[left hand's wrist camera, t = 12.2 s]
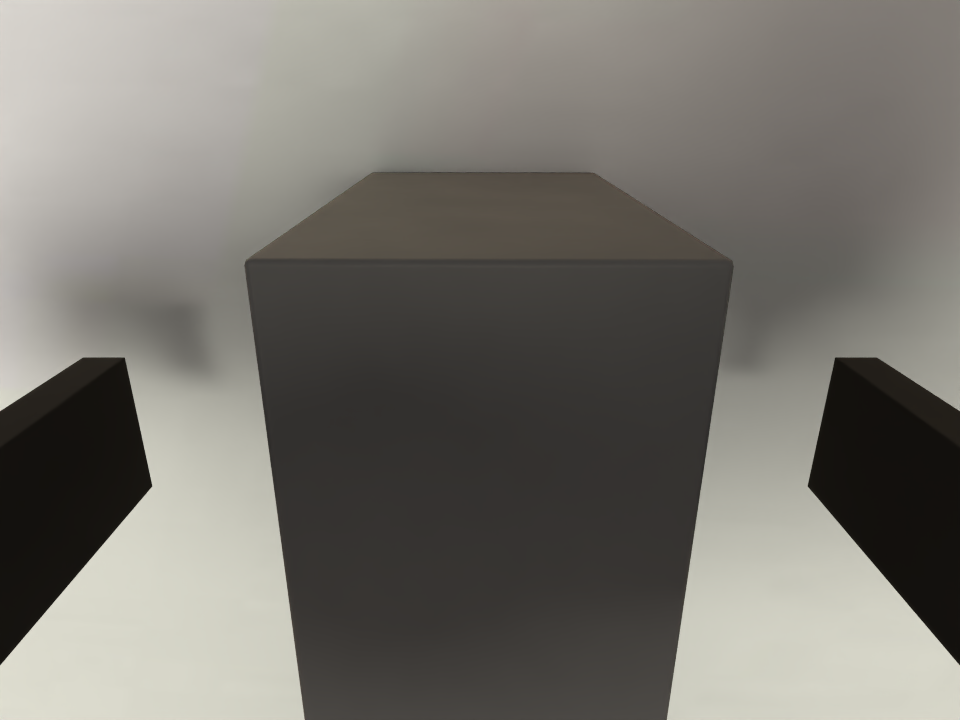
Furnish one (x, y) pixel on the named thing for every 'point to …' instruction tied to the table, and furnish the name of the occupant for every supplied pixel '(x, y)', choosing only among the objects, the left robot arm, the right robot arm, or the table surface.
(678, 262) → the beam
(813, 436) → the table surface
